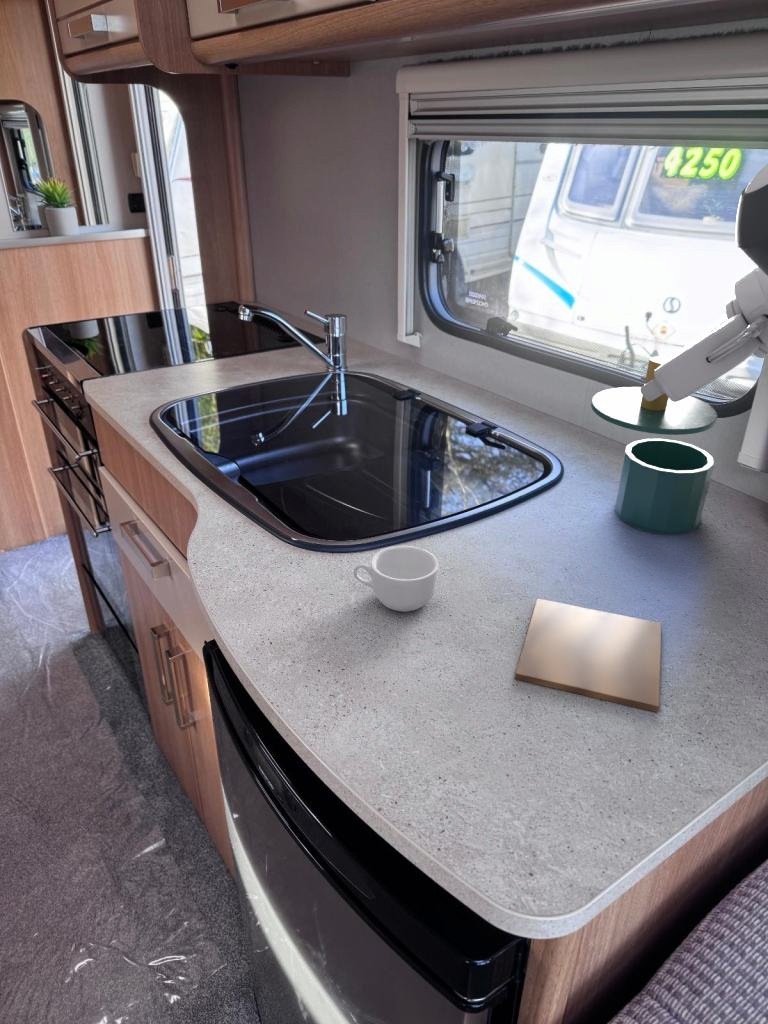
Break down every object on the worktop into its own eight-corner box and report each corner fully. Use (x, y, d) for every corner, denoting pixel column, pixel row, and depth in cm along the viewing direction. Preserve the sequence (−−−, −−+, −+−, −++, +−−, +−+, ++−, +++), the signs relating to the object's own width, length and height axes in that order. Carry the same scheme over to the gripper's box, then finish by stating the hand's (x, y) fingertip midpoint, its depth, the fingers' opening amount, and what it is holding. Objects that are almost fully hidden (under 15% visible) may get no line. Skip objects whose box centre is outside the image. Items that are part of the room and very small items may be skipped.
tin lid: (712, 405, 80) (726, 350, 77) (717, 448, 70) (733, 386, 67) (595, 391, 84) (604, 338, 81) (584, 429, 73) (593, 370, 70)
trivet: (660, 628, 82) (661, 622, 81) (658, 712, 70) (659, 706, 70) (536, 603, 86) (536, 597, 85) (514, 679, 74) (515, 673, 74)
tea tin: (697, 503, 108) (712, 445, 104) (700, 540, 99) (715, 478, 94) (617, 491, 112) (627, 434, 107) (612, 526, 102) (623, 465, 97)
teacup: (440, 586, 89) (442, 549, 86) (431, 624, 82) (433, 585, 79) (361, 576, 90) (361, 539, 88) (346, 613, 84) (345, 574, 81)
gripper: (776, 363, 58) (635, 445, 68) (816, 315, 73) (695, 388, 83) (732, 299, 59) (597, 390, 68) (780, 264, 73) (664, 343, 83)
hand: (651, 389), depth 76 cm, fingers closed on tin lid, 2 cm apart
